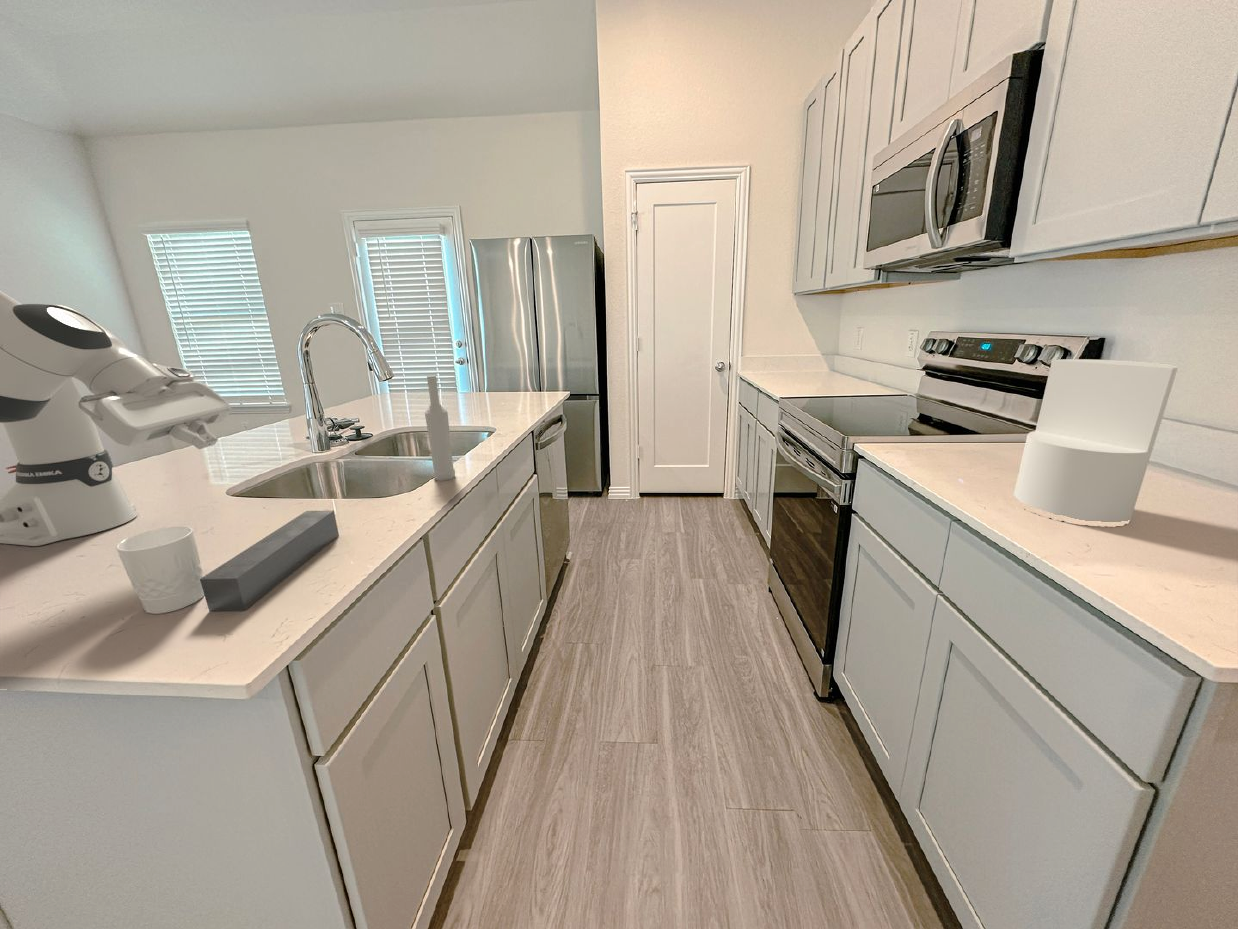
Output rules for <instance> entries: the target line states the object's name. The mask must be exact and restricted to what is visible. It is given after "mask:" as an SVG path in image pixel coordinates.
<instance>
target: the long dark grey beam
mask: <svg viewBox="0 0 1238 929" xmlns="http://www.w3.org/2000/svg"><path fill="white" fill-rule="evenodd" d="M336 518H337V517H336V514H335V510H306V511H304V512H302V513H301V514H299V515H298V516H296V517H294V518H293V519H292V520H290V521H289V522H287V523H285V524H283V525H282V526H281V527H279V528H277V529H276V530H274V531H273V532H272V533H270V534H268V535H267V536H265V537H263V538H262V539H260V540H259V541H257V542H255V543H254V544H252V545H251V546H250V547H248V548H246V549H245V550H243V551H242V552H240V553H238V554H237V555H235V556H234V557H232V558H231V559H229V560H228V561H226V562H224V563H222V564H221V565H219V566H218V567H217V568H215V569H213V570H212V571H210V572H208V573H207V574H206V575H204V576H202V578H201V579H200V582H201V585H202V589H203V592H204V598H205V601H206V605H207V608H208V611H209V612H238V611H239V612H244V611H245V612H246V611H247V610H248V609H250V608H251V607H252V606H253V605H254V604H256V603H257V602H258V601H259V600H261V599H262V598H263V597H264V596H266V595H267V594H268V593H269V592H272V590H273V589H274V588H276V587H277V586H279V585H280V584H281V583H282V582H283V581H285V579H287V578H288V577H289V576H291V575H292V574H293V573H295V572H296V571H297V570H298V569H299V568H301V566H303V565H304V564H306V563H307V562H308V561H310V560H311V559H312V558H313V557H315V556H316V555H317V554H318V553H319V552H321V551H322V550H323V549H324V548H325V547H327V546H329V544H331V543H332V542H333V541H334V540H335V539H336V538H338V537H339V536H340V534H339V529H338V525H337V520H336Z"/></svg>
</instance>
